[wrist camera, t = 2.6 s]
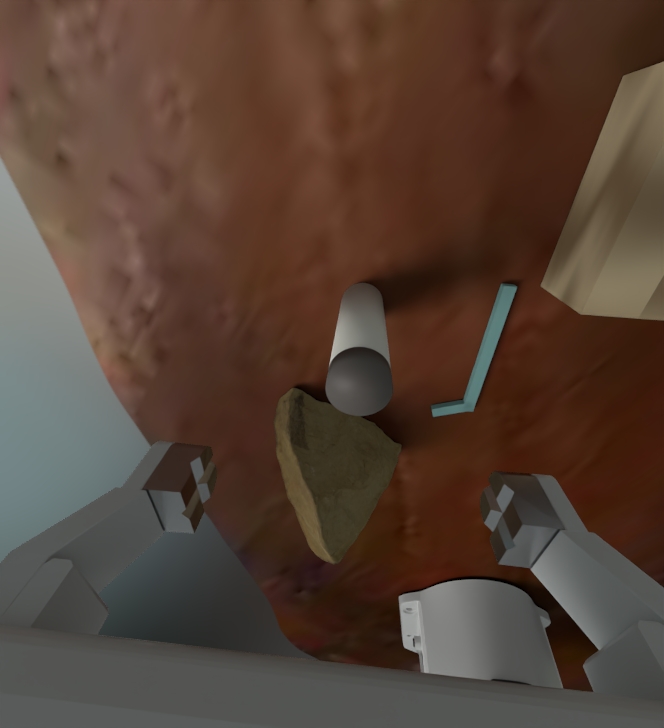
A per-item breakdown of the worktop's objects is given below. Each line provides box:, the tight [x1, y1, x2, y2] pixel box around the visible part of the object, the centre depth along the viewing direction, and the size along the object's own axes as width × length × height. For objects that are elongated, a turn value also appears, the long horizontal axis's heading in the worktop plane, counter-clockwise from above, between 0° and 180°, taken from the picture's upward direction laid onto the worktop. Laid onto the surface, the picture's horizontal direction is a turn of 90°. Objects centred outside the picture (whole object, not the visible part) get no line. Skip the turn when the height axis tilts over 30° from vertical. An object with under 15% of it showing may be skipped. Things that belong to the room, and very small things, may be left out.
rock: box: [273, 388, 401, 564], centre depth 25 cm, size 11×9×10 cm
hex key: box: [431, 283, 517, 417], centre depth 23 cm, size 11×3×1 cm, turn 178°
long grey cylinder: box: [326, 283, 393, 416], centre depth 18 cm, size 3×3×10 cm
